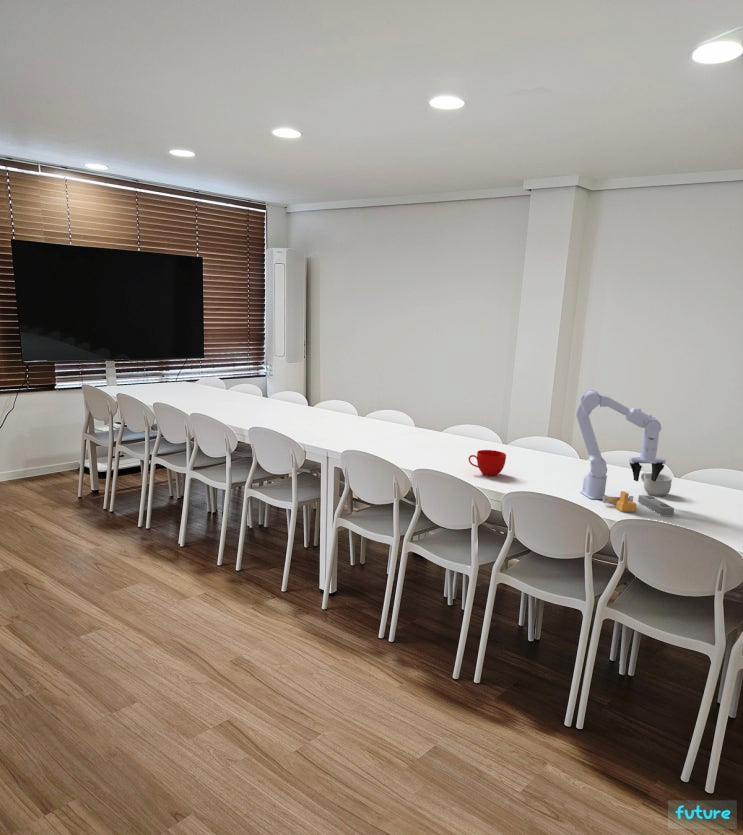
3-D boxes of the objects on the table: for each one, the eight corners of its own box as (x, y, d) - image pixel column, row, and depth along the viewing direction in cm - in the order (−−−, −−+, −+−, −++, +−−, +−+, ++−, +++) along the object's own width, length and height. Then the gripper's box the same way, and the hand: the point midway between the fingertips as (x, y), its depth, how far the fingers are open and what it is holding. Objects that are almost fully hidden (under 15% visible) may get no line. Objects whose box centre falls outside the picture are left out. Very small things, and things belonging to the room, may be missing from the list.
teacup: (675, 497, 260) (678, 479, 259) (652, 498, 258) (655, 479, 256) (653, 488, 273) (656, 470, 272) (632, 488, 271) (634, 470, 270)
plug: (616, 508, 241) (618, 490, 240) (629, 508, 242) (632, 491, 240) (621, 511, 237) (623, 494, 236) (635, 511, 238) (637, 494, 236)
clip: (631, 505, 245) (632, 495, 244) (632, 506, 244) (634, 497, 243) (601, 504, 245) (603, 494, 244) (603, 505, 243) (604, 495, 242)
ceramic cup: (463, 470, 286) (465, 449, 284) (499, 471, 287) (501, 450, 286) (471, 478, 273) (472, 456, 271) (508, 478, 275) (510, 457, 273)
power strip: (637, 502, 251) (638, 494, 250) (649, 502, 251) (650, 494, 251) (661, 515, 235) (662, 507, 235) (673, 515, 236) (674, 507, 235)
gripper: (638, 449, 241) (633, 483, 243) (672, 450, 243) (667, 483, 245) (628, 445, 248) (623, 478, 250) (661, 446, 250) (656, 478, 252)
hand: (644, 480), depth 248 cm, fingers open, 7 cm apart
